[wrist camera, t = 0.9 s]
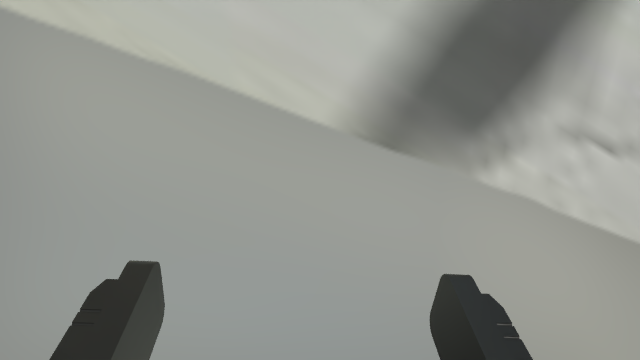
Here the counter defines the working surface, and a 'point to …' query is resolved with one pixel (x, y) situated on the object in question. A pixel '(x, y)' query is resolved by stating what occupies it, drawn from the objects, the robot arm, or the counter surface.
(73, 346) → the robot arm
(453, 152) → the counter surface
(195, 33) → the counter surface
